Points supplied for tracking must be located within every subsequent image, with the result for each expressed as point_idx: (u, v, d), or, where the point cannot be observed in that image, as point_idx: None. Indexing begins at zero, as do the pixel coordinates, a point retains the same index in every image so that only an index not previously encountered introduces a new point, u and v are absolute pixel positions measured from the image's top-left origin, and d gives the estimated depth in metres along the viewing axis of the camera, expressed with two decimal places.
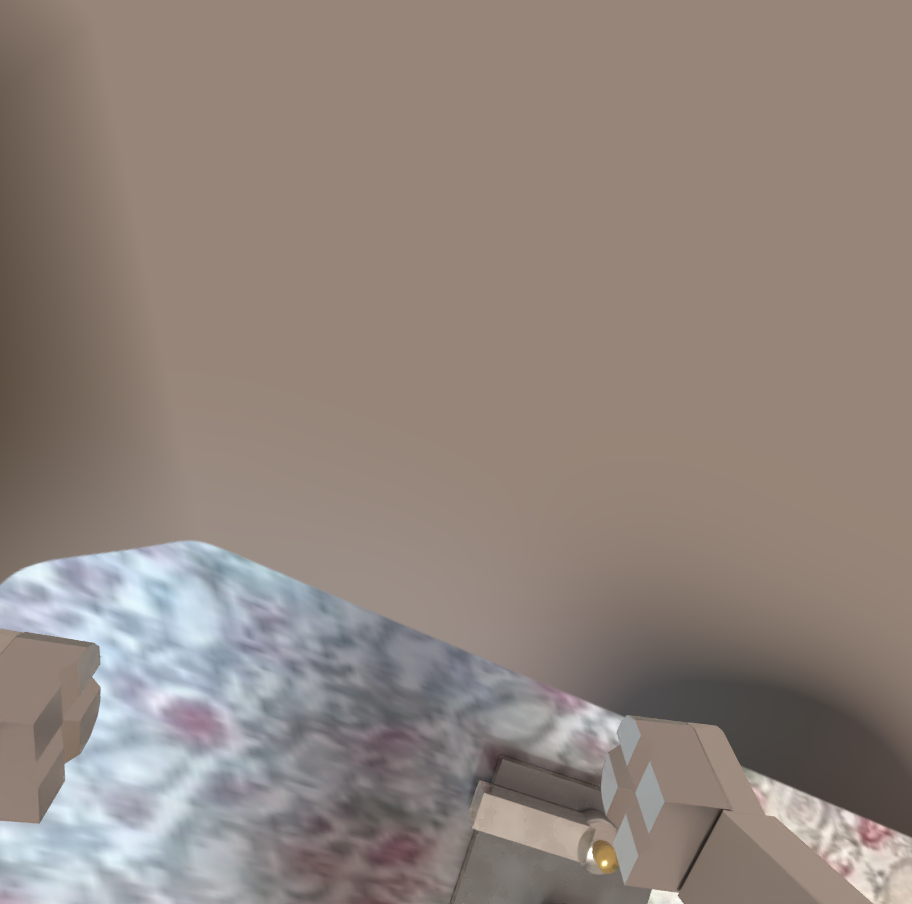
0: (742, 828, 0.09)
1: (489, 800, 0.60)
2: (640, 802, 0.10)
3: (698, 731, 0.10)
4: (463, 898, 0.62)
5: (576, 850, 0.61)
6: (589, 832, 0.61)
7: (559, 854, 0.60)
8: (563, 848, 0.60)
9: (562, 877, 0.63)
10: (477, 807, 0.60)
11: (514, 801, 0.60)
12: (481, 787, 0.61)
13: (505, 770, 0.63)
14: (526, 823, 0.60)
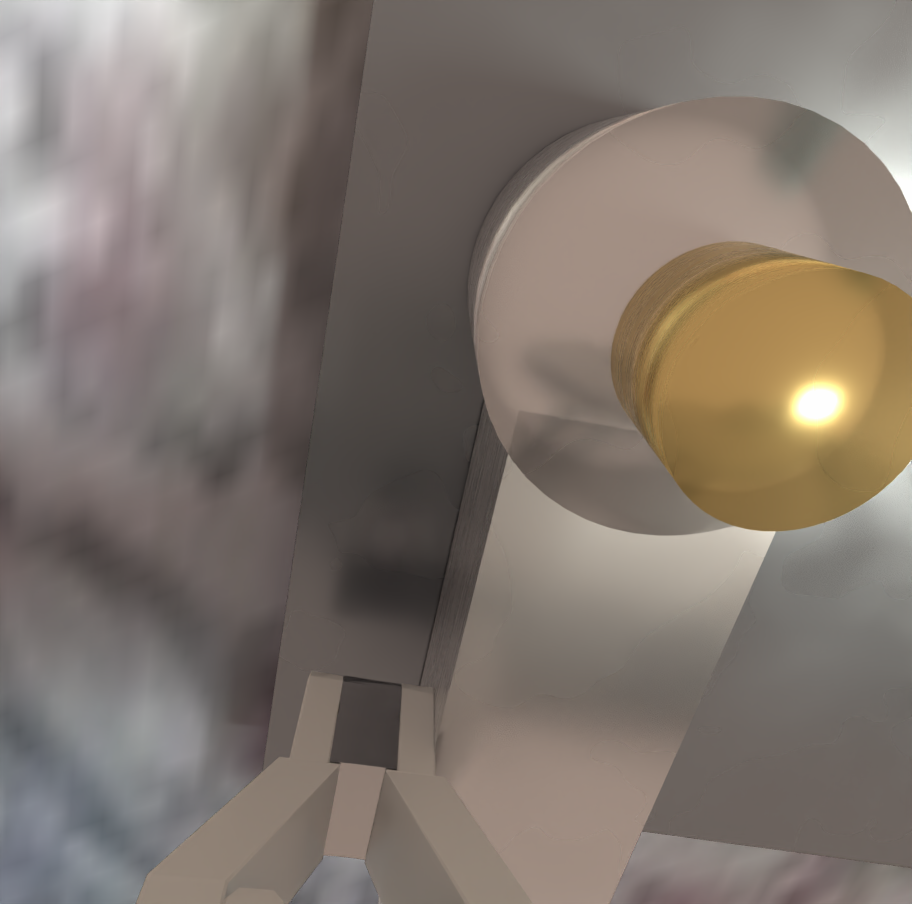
0: (398, 787, 0.08)
1: None
2: None
3: (404, 692, 0.10)
4: (879, 840, 0.14)
5: (694, 539, 0.08)
6: (552, 460, 0.07)
7: (715, 647, 0.08)
8: (674, 627, 0.08)
9: None
10: None
11: None
12: None
13: None
14: (509, 842, 0.10)
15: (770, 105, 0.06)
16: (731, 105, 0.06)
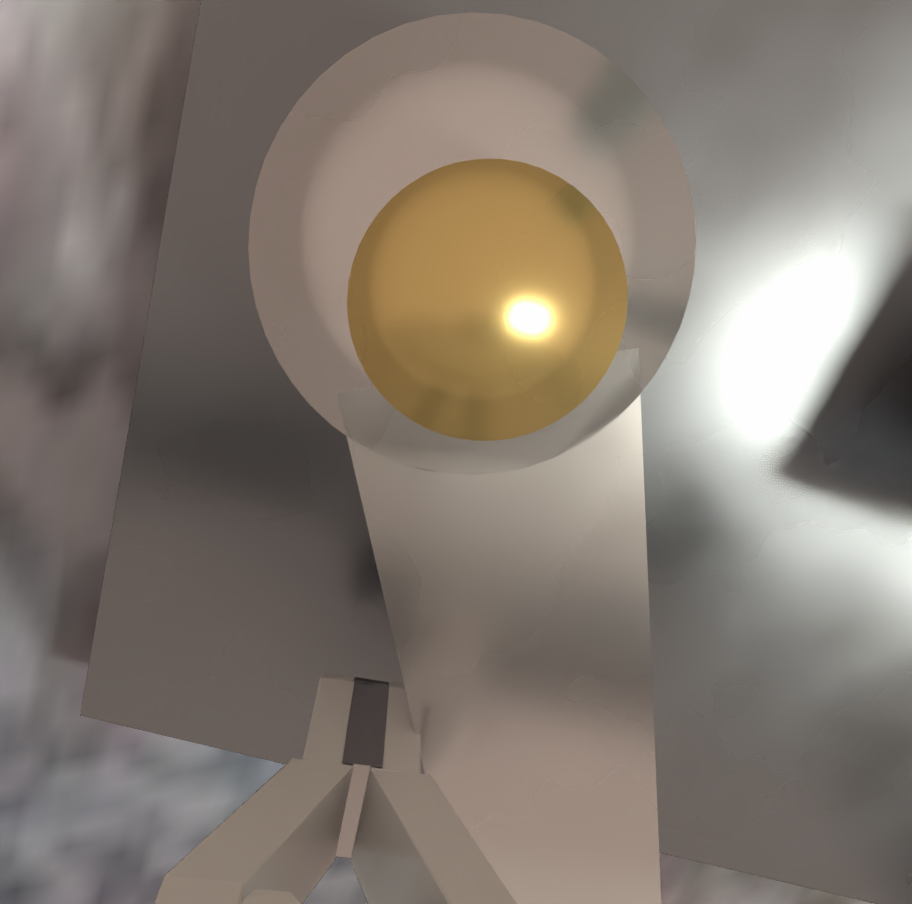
0: (383, 786, 0.08)
1: None
2: None
3: (391, 690, 0.10)
4: (705, 839, 0.14)
5: (563, 459, 0.07)
6: (390, 428, 0.07)
7: (637, 559, 0.08)
8: (586, 551, 0.08)
9: (711, 424, 0.10)
10: None
11: None
12: None
13: (133, 702, 0.12)
14: (529, 802, 0.10)
15: (427, 24, 0.06)
16: (391, 39, 0.06)
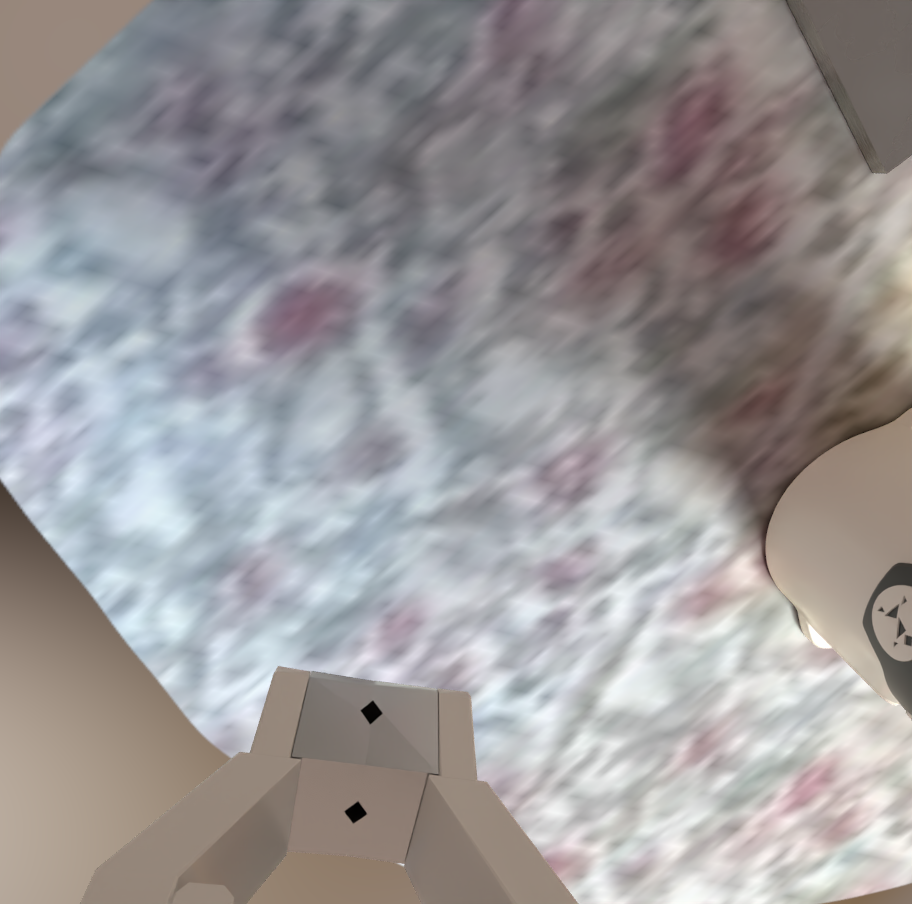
0: (442, 792, 0.08)
1: None
2: None
3: (441, 697, 0.10)
4: (846, 54, 0.31)
5: None
6: None
7: None
8: None
9: None
10: None
11: None
12: None
13: None
14: None
15: None
16: None
